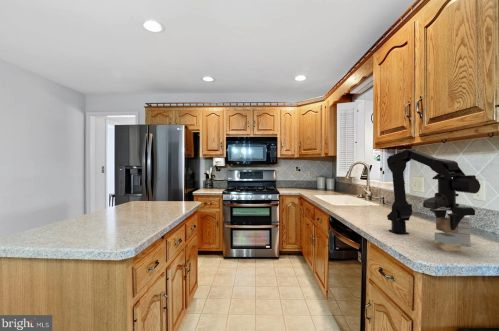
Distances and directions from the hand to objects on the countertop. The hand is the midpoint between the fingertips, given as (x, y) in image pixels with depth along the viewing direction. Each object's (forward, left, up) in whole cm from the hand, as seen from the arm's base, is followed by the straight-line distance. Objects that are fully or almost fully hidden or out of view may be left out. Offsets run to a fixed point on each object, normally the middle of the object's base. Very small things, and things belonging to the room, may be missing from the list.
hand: (447, 228), depth 99 cm
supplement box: (-6, +11, -8) cm, 15 cm away
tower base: (0, 0, -8) cm, 9 cm away
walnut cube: (0, 0, -1) cm, 1 cm away
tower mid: (0, 0, -6) cm, 6 cm away
